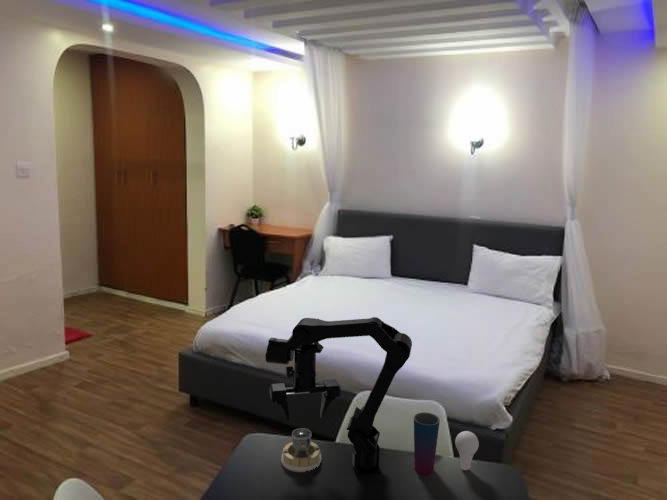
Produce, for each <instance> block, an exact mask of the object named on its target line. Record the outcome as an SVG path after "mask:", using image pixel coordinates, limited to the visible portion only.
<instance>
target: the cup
mask: <svg viewBox="0 0 667 500" xmlns="http://www.w3.org/2000/svg"><path fill="white" fill-rule="evenodd" d="M440 421H441V419H440V417H439V416H438V415H436V414H434V413H431V412H425V411H424V412H417V413H416V414H415V415H414V416H413V440H414V441H413V443H414V444H413V448H414V450H413V453H414V471H415V472H416V473H417V474H419V475H423V476H430V475H432V474H433V473H434V471H435V460H436V453H437V445H438V437H439V430H440Z"/></svg>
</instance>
